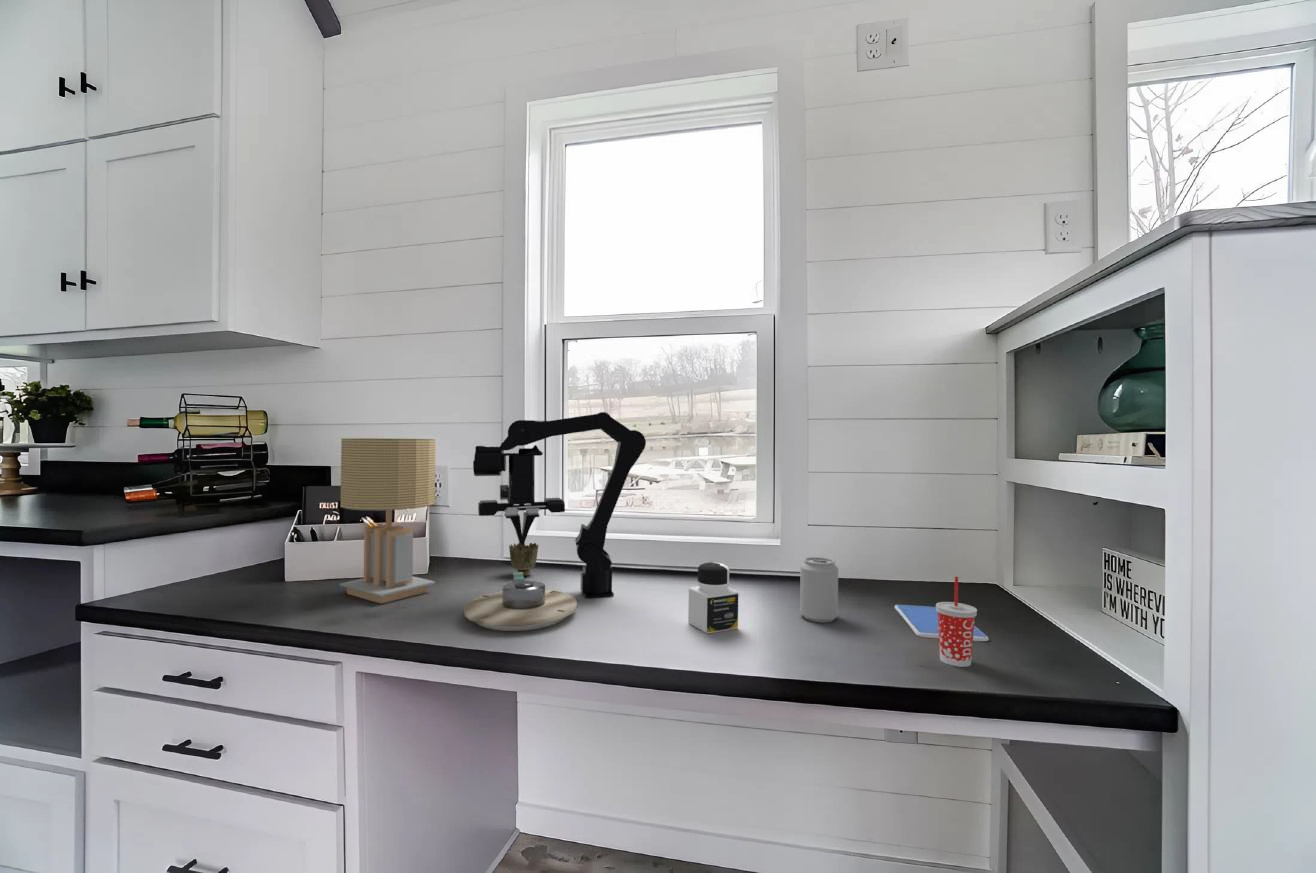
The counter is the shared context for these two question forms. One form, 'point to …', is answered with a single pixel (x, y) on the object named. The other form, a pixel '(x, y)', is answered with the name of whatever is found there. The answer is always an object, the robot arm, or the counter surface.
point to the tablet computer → (928, 621)
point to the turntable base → (520, 628)
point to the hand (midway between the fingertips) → (521, 544)
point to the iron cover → (523, 595)
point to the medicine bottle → (713, 600)
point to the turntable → (494, 614)
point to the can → (819, 589)
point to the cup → (523, 557)
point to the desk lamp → (387, 509)
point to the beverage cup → (956, 631)
